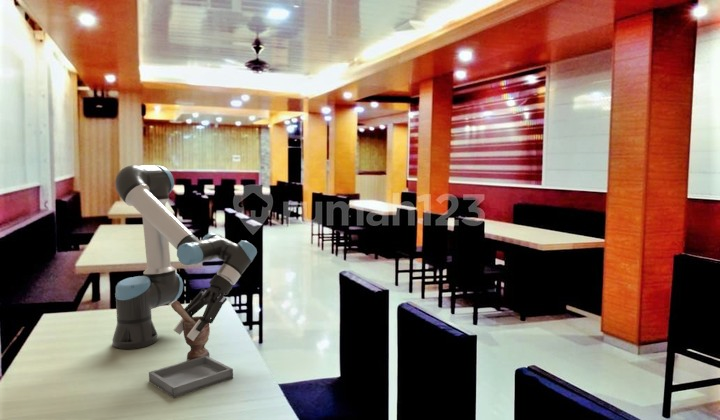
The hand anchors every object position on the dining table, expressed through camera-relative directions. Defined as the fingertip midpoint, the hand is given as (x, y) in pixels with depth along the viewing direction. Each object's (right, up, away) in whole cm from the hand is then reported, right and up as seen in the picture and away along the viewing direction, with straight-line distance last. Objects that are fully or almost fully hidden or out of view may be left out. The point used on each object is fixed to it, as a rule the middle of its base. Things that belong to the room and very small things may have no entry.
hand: (183, 335), depth 175 cm
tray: (+7, -10, -14) cm, 19 cm away
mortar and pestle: (+2, -9, +3) cm, 9 cm away
